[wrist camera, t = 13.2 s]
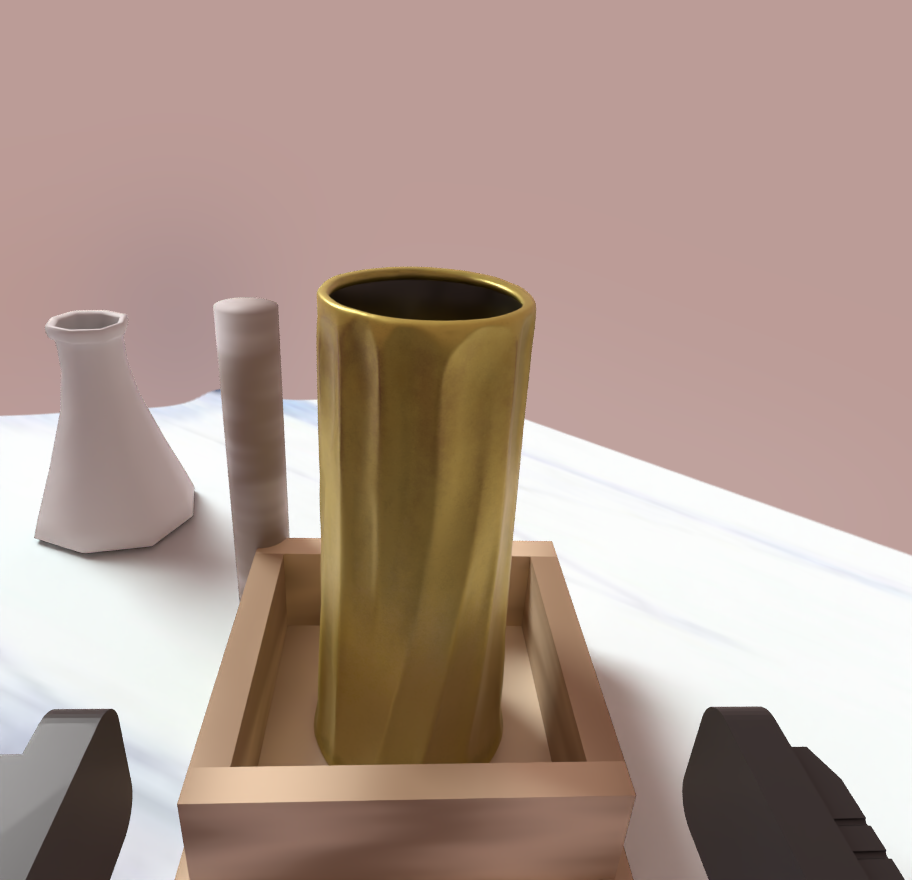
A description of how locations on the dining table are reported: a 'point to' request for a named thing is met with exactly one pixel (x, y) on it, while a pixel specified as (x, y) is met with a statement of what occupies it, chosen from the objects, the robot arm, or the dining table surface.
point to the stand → (381, 786)
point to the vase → (417, 510)
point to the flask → (107, 447)
